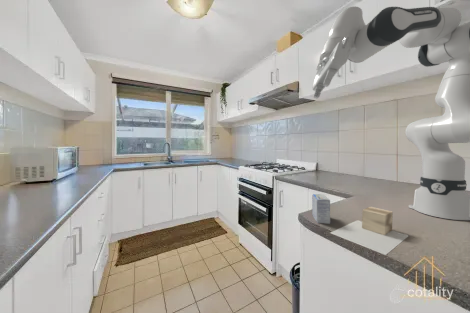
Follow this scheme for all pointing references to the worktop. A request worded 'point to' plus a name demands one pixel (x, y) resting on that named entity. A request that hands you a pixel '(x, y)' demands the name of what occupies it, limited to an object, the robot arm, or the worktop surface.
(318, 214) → the medicine box
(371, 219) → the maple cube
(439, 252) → the worktop surface
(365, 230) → the white flat sheet
